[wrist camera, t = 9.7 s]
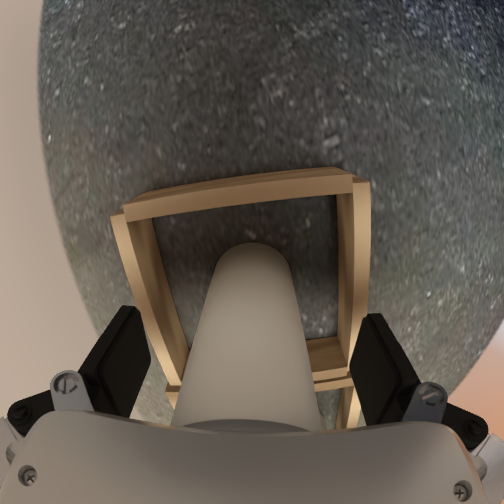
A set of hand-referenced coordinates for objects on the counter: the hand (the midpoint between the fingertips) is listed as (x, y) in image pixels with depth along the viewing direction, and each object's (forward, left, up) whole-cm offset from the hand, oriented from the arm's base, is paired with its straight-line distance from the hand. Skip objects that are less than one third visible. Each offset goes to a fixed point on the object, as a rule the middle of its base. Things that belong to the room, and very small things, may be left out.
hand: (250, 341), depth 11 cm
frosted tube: (0, 0, -6) cm, 6 cm away
